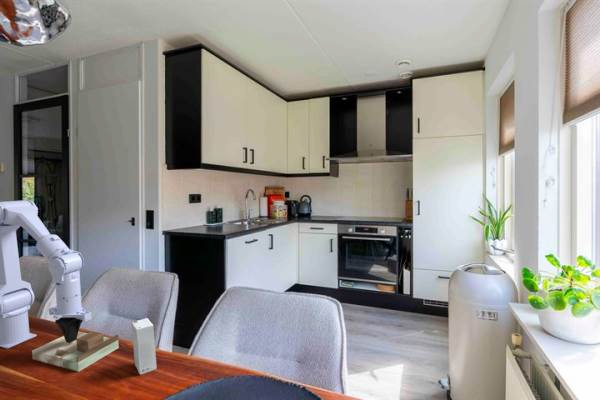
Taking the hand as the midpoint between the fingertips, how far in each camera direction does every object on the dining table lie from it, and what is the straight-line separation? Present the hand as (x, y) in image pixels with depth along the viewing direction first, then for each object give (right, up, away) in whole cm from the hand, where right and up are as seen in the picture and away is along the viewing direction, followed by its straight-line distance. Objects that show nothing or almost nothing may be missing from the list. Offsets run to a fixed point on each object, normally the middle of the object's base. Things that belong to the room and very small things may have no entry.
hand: (71, 341), depth 91 cm
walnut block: (+7, -1, -2) cm, 8 cm away
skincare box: (+25, -4, -7) cm, 26 cm away
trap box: (+2, -3, 0) cm, 4 cm away
